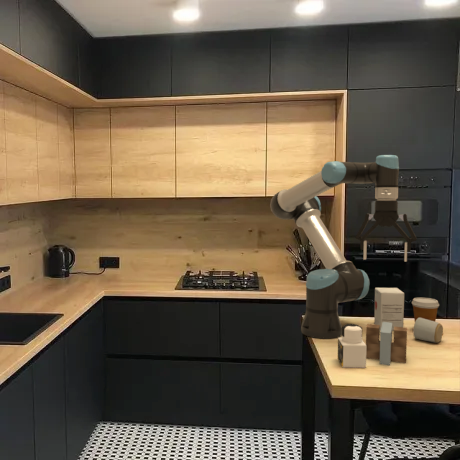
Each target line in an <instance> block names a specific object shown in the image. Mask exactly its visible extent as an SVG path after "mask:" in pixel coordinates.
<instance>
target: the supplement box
mask: <svg viewBox="0 0 460 460" xmlns="http://www.w3.org/2000/svg"><path fill="white" fill-rule="evenodd" d="M404 310H405V292H403V291H402V290H401V289H399V288H398V287H375V288H374V320H373V321H374V322H373V324H375V325H380V332H381V327H382V323H383V322H390V323H392V332H394V326H395V327H404V314H405V312H404Z"/></svg>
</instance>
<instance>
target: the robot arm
mask: <svg viewBox="0 0 460 460" xmlns="http://www.w3.org/2000/svg"><path fill="white" fill-rule="evenodd" d="M399 165H400V163H399V157H398V155H394V154H381V155H380V154H379V155H377V156H376V158H375V161H373V162H351V161H337V160H334V161H328V162H325V163H324V165H323V166H322V168H321V170H320V171H318V172H316V173H315V174H313V175H311V176H309V177H308V178H306V179H304V180H302V181H300V182H299V183H298V184H295V185H294V186H292V187H291V188H287V189H281V190H280V191H278V192H276V193H275V194H273V196H272V198H271V199H270V204H269V206H270V211H271V212H272V215H274V216H275V218H278V219H281V220H293V221H294V223H295V225H296V226H297V227H298V228H301V229H302V230H303V231H304V233H305V235H306V237H307V238H308V240H309V242H310V244H311V245H312V247H313V248H314V250H315V252H316V254H317V255H318V257H319V259H320V260H321V262H322V264H323V266H324V267H325V268H321V269H316V270H312V271H310V272H309V273H307V276H306V282H305V289H306V290H305V292H306V293H305V294H306V295H305V298H306V299H305V301H306V302H305V308H306V309H305V314H304V317H303V319H302V322H301V327H300V331H301V333H302V334H303V335H305V336H306V337H311V338H313V339H314V338H315V339H336V338H340V337H342V326H343V325H342V323H341V319H340V317H339V313H338V312H339V310H338V309H339V307H338V306H339V303H345V302H346V303H347V302H352V301H353V302H355V301H359V300H361V299H363V298H365V297H366V296H367V295H368V293H369V290H370V278H369V276H368V274H367V272H365V270H363V269H359V268H356V266H355V265H354V263H353V261H350V260H347V259H346V258H345V256H344V254H343V252H342V251H341V249H340V248H339V246H338V245H337V242H336V241H335V240H334V238H333V237H332V235H331V233H330V232H329V230H328V228H327V227H326V225H325V224H324V222H323V220H322V219H321V211H322V205H321V200H320V199H319V197H318V196H319V195H321V194H323V193H325V192H327V191H329V190H331V189H333V188H336V187H338V186H339V185H341V184H354V185H355V184H356V185H363V184H364V185H365V184H375V186H374V189H375V192H374V193H375V194H374V195H375V196H374V198H375V202H374V213H373V214H372V213H366V214H365V217H364V220H363V222H362V223H361V226H360V228H359V230H358V231H357V233H356V235H355V239H356V240H359V241H360V250H361V251H363V261H364V260H365V261H366V260H367V240H366V239H367V238H368V236H370V235H371V233H372V232H373V231H374V230H375V229H376V228H377V227H378V226H380V227H392V226H393V228H394V229H396V231H398V233H399V234H400V235H401V236H402V237H403V239H404V240H405V242H404V257H403V258H404V260H403V261H404V262H408V253H409V252H411V249H412V248H411V247H412V245H411V244H412V243H413V242H415V241H417V240H418V238H417V236H416V233H414V231H413V228H412V227H411V224H410V223H409V220H408V215H407V213H404V214H399V213H398V211H399V208H398V204H399V203H398V201H397V199H398V198H399V171H400V166H399ZM372 219H374V221H375V222H374V223H373V225H372V226H371V227H370V228H369V229H368V230H367V231H366V232H365V233H364V230H365V228H366V226H367V225H368V223H369V221H371V220H372ZM398 219H400V220H401V221H403V222H404V225H405V226H406V229H407V231H408V234H409V235H410V237H409V235H408V234H407V233H406V232H405V231H404V230H403V228H402V227H401V226H399V224H398V223H397V221H398ZM363 233H364V234H363ZM362 234H363V235H362Z"/></svg>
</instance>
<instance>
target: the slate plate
mask: <svg viewBox="0 0 460 460" xmlns="http://www.w3.org/2000/svg"><path fill="white" fill-rule="evenodd" d="M379 341H380V360H379V365H383V366H384V365H385V366H391V362H392V361H391V342H393V331H392V323H390V322H383V323H382V327H381V331H380V336H379Z"/></svg>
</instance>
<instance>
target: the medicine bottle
mask: <svg viewBox="0 0 460 460" xmlns="http://www.w3.org/2000/svg"><path fill="white" fill-rule="evenodd" d="M341 326H342V335H341V337H337V360H338V362H339V363H340V366H341V367H342V368H343V369H344V368H346V369H347V368H350V369H351V368H354V369H355V368H356V369H359V368H363V369H364V368H366V367H367V358H366V342H364V340H363V327H362V326H361V325H359V324H356V323H345V324H343V325H341Z"/></svg>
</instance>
